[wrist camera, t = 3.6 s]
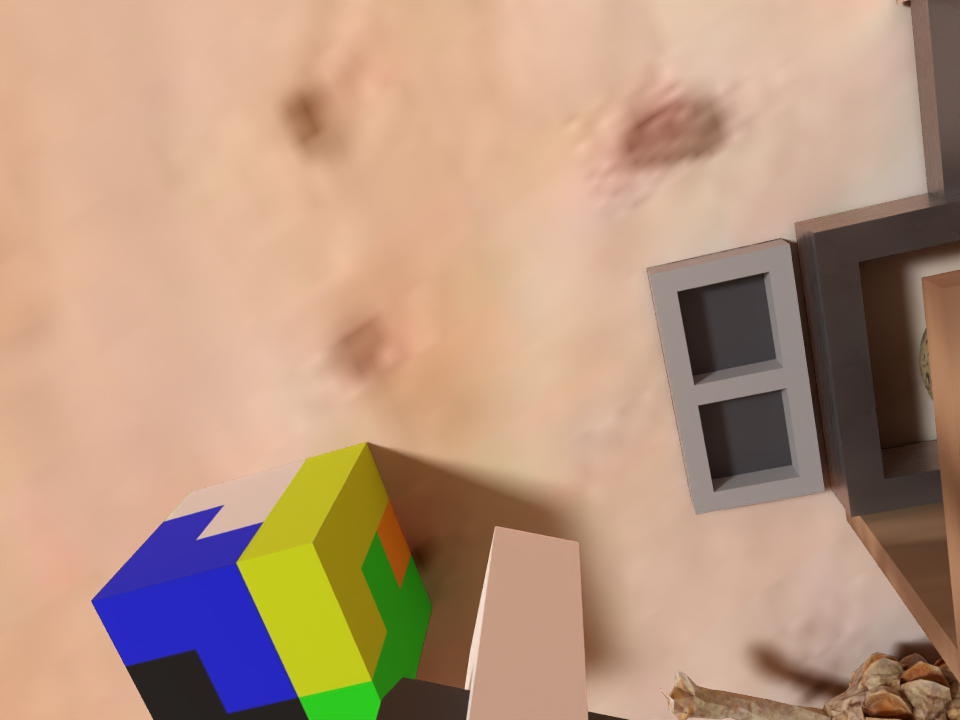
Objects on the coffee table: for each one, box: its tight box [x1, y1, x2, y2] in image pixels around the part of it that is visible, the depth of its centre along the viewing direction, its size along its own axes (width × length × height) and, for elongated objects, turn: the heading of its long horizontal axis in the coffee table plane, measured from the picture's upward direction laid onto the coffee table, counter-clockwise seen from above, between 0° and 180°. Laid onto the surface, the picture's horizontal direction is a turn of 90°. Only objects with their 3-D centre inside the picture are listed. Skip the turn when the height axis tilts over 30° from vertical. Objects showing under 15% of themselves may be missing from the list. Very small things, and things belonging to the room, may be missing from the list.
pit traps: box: [647, 238, 825, 514], centre depth 38 cm, size 12×6×2 cm, turn 14°
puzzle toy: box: [91, 442, 432, 720], centre depth 39 cm, size 10×10×10 cm
